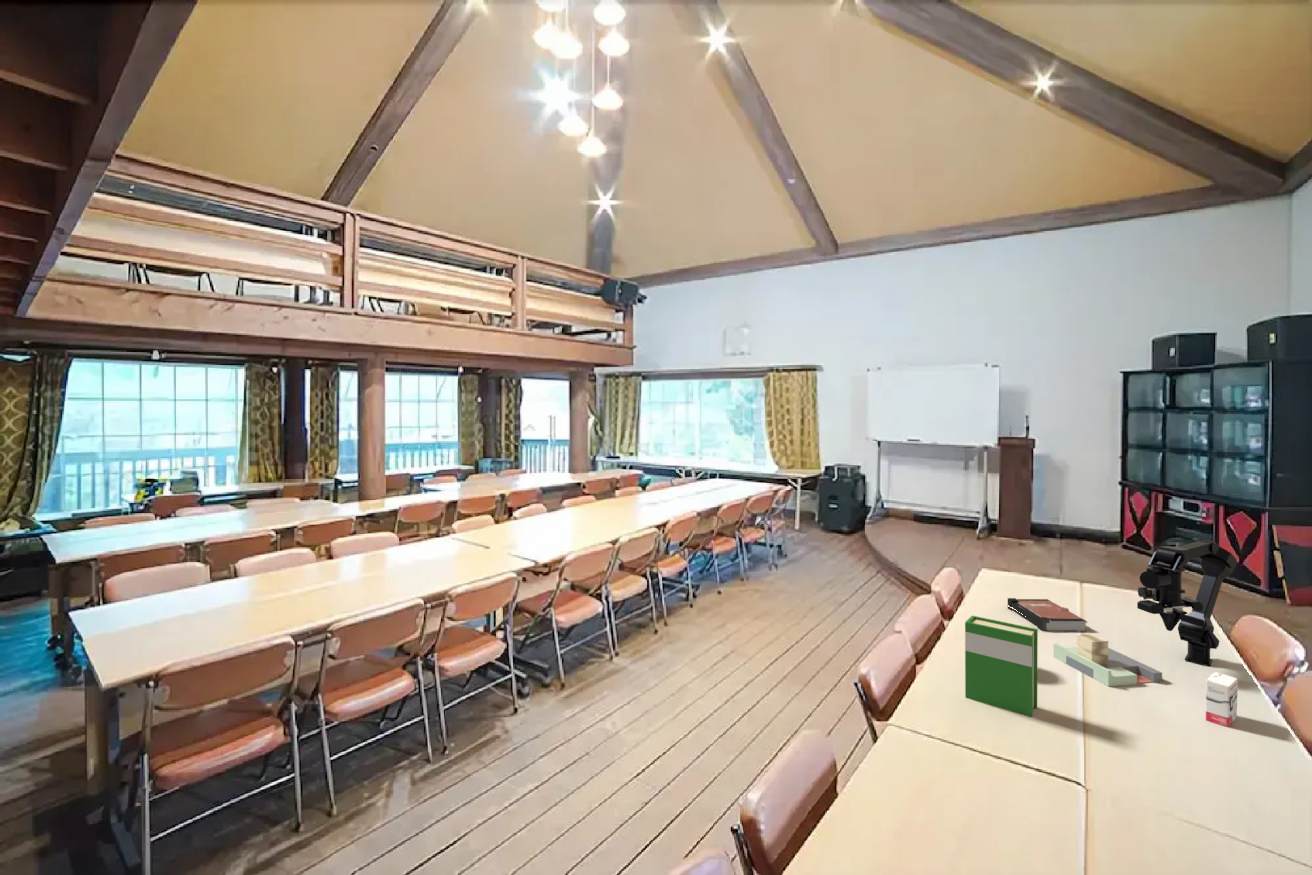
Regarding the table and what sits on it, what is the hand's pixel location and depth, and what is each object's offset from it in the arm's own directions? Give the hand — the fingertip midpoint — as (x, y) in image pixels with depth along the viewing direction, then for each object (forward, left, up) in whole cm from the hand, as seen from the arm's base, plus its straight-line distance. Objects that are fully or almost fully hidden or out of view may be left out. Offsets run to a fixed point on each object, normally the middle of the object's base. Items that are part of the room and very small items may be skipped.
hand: (1169, 630), depth 193 cm
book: (-23, -41, -14) cm, 49 cm away
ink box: (+30, +15, -13) cm, 36 cm away
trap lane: (+15, -14, -13) cm, 25 cm away
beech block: (+19, -17, -10) cm, 27 cm away
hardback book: (+64, -31, -13) cm, 72 cm away
